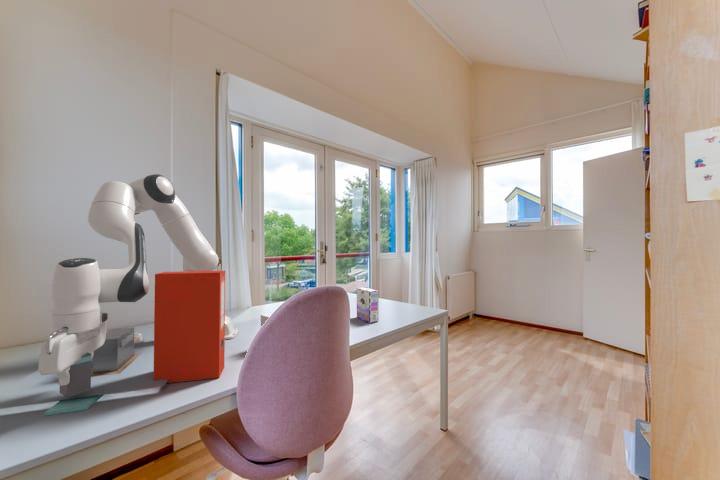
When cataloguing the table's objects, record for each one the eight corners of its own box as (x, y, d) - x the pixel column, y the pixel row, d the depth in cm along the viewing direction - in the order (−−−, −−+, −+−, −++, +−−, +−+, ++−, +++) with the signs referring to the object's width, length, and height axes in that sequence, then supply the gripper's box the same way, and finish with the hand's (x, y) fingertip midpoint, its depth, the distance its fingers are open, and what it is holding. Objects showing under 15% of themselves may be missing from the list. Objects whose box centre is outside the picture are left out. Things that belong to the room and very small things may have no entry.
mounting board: (141, 357, 101) (141, 353, 101) (120, 378, 86) (120, 373, 86) (106, 361, 98) (106, 357, 98) (78, 383, 83) (78, 378, 83)
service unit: (134, 356, 99) (135, 327, 99) (118, 370, 88) (118, 338, 88) (111, 358, 97) (111, 329, 97) (91, 373, 86) (92, 340, 86)
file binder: (164, 373, 90) (165, 271, 90) (224, 367, 94) (225, 270, 94) (153, 385, 82) (154, 274, 82) (218, 378, 86) (219, 272, 86)
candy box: (379, 321, 148) (379, 290, 148) (369, 323, 145) (369, 291, 145) (365, 316, 160) (365, 286, 160) (356, 317, 157) (356, 287, 157)
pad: (104, 393, 78) (104, 390, 78) (87, 409, 70) (87, 406, 70) (67, 398, 75) (67, 395, 75) (45, 415, 67) (45, 412, 67)
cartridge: (83, 384, 76) (84, 350, 76) (90, 389, 73) (91, 353, 74) (59, 392, 72) (60, 356, 72) (66, 397, 69) (67, 360, 70)
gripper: (65, 333, 64) (64, 395, 64) (111, 312, 83) (110, 359, 83) (28, 336, 62) (27, 400, 62) (84, 313, 81) (83, 362, 81)
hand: (75, 376), depth 73 cm, fingers closed on cartridge, 6 cm apart
